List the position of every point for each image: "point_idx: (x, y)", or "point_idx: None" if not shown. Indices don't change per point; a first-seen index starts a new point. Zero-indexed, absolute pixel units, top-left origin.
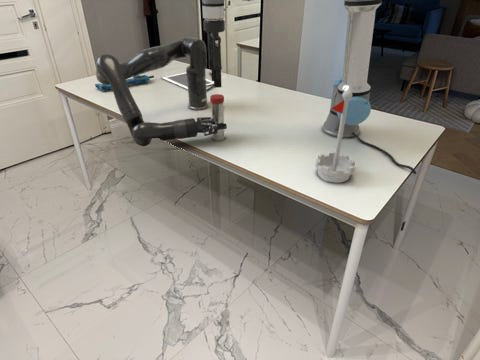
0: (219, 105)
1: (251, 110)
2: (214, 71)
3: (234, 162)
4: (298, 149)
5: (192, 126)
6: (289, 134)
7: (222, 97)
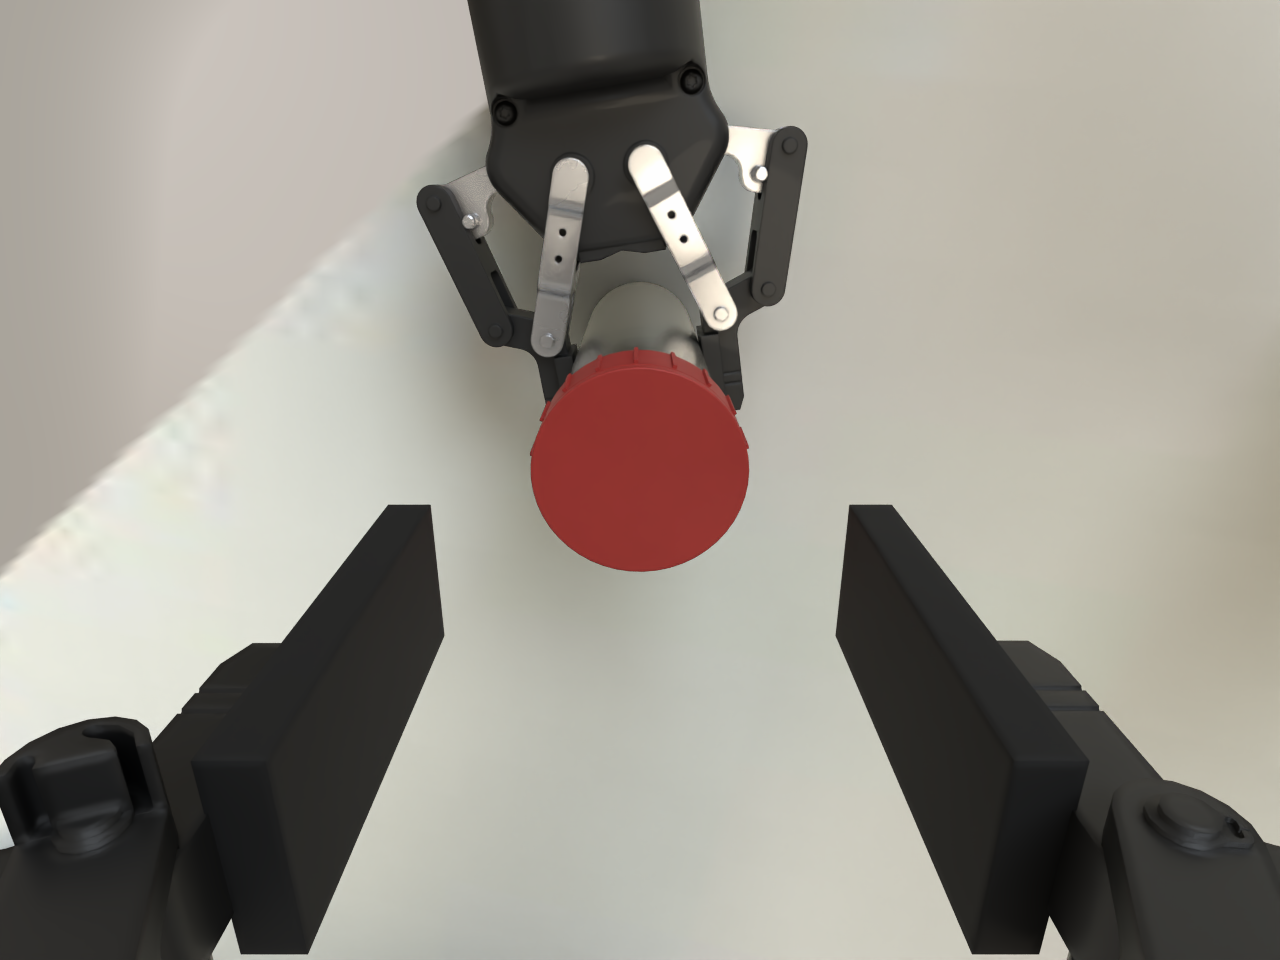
0: None
1: (1147, 695)
2: (218, 750)
3: (189, 403)
4: (376, 833)
5: (483, 41)
6: (607, 840)
7: (578, 546)
